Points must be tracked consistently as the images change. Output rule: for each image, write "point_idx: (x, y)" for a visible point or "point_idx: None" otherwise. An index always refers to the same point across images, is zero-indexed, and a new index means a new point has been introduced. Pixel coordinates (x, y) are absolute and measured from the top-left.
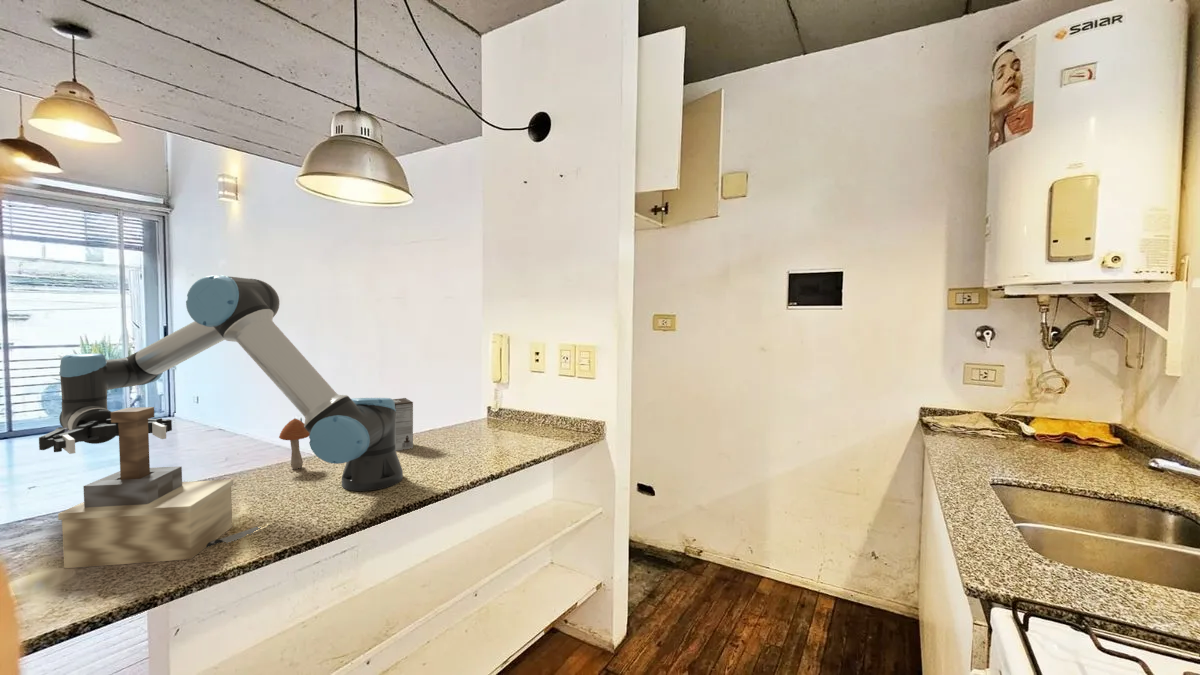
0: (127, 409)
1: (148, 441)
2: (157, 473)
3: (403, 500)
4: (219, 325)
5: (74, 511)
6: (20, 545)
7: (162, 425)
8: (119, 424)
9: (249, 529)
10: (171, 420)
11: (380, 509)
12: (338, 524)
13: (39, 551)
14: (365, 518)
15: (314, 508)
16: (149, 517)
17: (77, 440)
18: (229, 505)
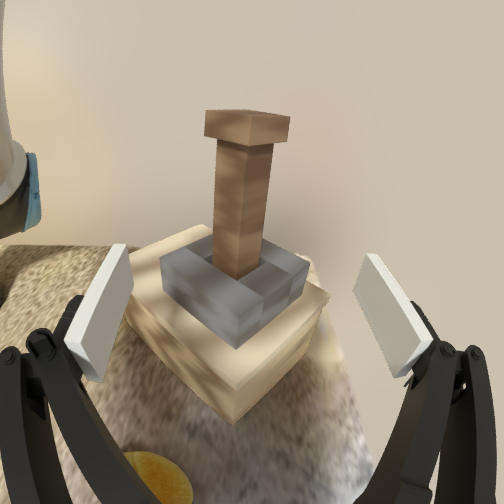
0: (257, 114)
1: (215, 193)
2: (205, 248)
3: (27, 250)
4: None
5: (312, 288)
6: (365, 485)
7: (108, 258)
8: (271, 146)
9: None
10: (4, 350)
11: (49, 250)
12: (87, 252)
13: (339, 439)
14: (70, 246)
15: (53, 295)
16: None
17: (388, 447)
18: None
